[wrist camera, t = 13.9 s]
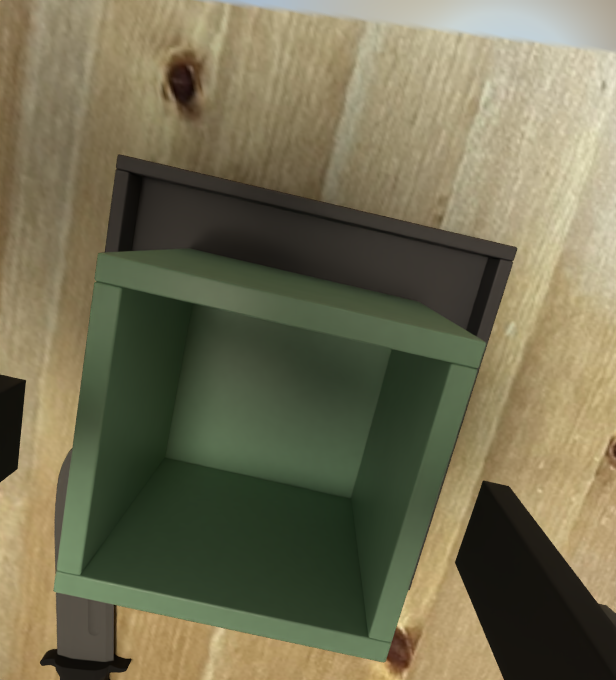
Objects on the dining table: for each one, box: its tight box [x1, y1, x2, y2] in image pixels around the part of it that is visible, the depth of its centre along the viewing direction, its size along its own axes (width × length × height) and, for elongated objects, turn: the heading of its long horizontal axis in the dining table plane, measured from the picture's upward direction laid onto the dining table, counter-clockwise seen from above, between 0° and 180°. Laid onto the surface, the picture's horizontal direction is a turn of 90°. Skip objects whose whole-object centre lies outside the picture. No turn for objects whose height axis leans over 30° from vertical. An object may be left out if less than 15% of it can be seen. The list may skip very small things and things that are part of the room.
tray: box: [105, 154, 517, 590], centre depth 22 cm, size 17×17×2 cm
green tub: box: [54, 248, 486, 662], centre depth 18 cm, size 11×11×9 cm
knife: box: [40, 449, 131, 680], centre depth 26 cm, size 25×2×5 cm
